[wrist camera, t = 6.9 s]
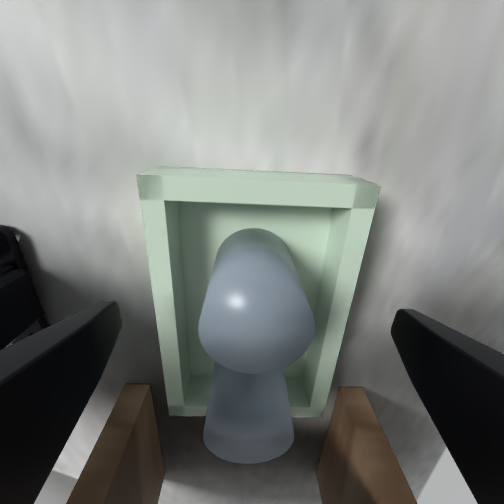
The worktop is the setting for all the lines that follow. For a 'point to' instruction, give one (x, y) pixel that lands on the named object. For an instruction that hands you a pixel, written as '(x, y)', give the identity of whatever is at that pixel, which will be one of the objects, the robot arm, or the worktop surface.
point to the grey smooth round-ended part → (248, 416)
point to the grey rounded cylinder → (255, 306)
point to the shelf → (328, 472)
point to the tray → (238, 218)
